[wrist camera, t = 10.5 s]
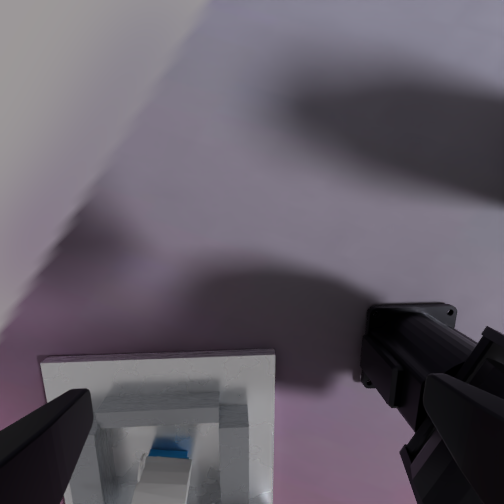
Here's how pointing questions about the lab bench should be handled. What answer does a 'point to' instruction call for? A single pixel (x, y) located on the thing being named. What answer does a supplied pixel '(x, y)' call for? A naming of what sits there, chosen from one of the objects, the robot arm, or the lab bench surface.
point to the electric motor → (163, 478)
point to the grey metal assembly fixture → (173, 421)
